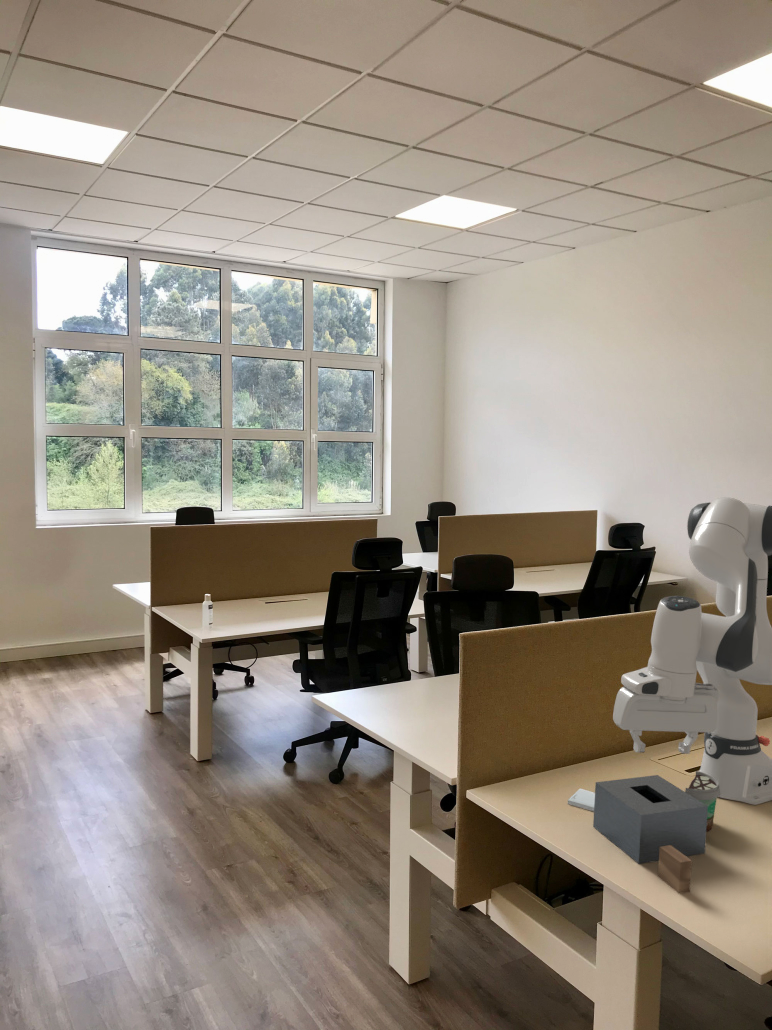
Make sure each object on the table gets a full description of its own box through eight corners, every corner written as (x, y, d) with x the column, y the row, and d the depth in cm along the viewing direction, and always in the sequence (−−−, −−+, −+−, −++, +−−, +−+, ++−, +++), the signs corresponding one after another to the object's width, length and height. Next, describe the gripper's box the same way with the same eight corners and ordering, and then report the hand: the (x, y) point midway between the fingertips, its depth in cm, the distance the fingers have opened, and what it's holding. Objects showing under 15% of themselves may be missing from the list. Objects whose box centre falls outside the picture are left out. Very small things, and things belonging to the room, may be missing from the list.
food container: (712, 841, 167) (715, 795, 166) (682, 833, 170) (685, 788, 169) (722, 819, 177) (725, 776, 176) (693, 812, 180) (696, 769, 180)
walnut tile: (668, 874, 153) (670, 845, 152) (689, 891, 147) (691, 860, 147) (657, 876, 152) (659, 846, 152) (678, 893, 146) (680, 862, 146)
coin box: (654, 818, 177) (657, 775, 176) (704, 853, 162) (707, 806, 161) (593, 826, 172) (595, 782, 171) (638, 863, 156) (641, 815, 156)
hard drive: (567, 799, 183) (621, 814, 176) (580, 787, 189) (632, 801, 182) (567, 806, 183) (620, 821, 176) (579, 794, 189) (631, 808, 183)
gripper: (710, 679, 155) (701, 747, 157) (613, 674, 152) (605, 744, 153) (729, 689, 149) (719, 759, 150) (629, 685, 145) (620, 757, 147)
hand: (661, 752), depth 152 cm, fingers open, 8 cm apart
